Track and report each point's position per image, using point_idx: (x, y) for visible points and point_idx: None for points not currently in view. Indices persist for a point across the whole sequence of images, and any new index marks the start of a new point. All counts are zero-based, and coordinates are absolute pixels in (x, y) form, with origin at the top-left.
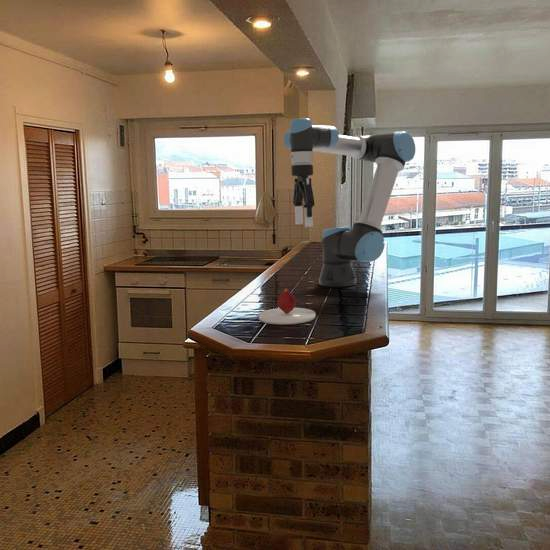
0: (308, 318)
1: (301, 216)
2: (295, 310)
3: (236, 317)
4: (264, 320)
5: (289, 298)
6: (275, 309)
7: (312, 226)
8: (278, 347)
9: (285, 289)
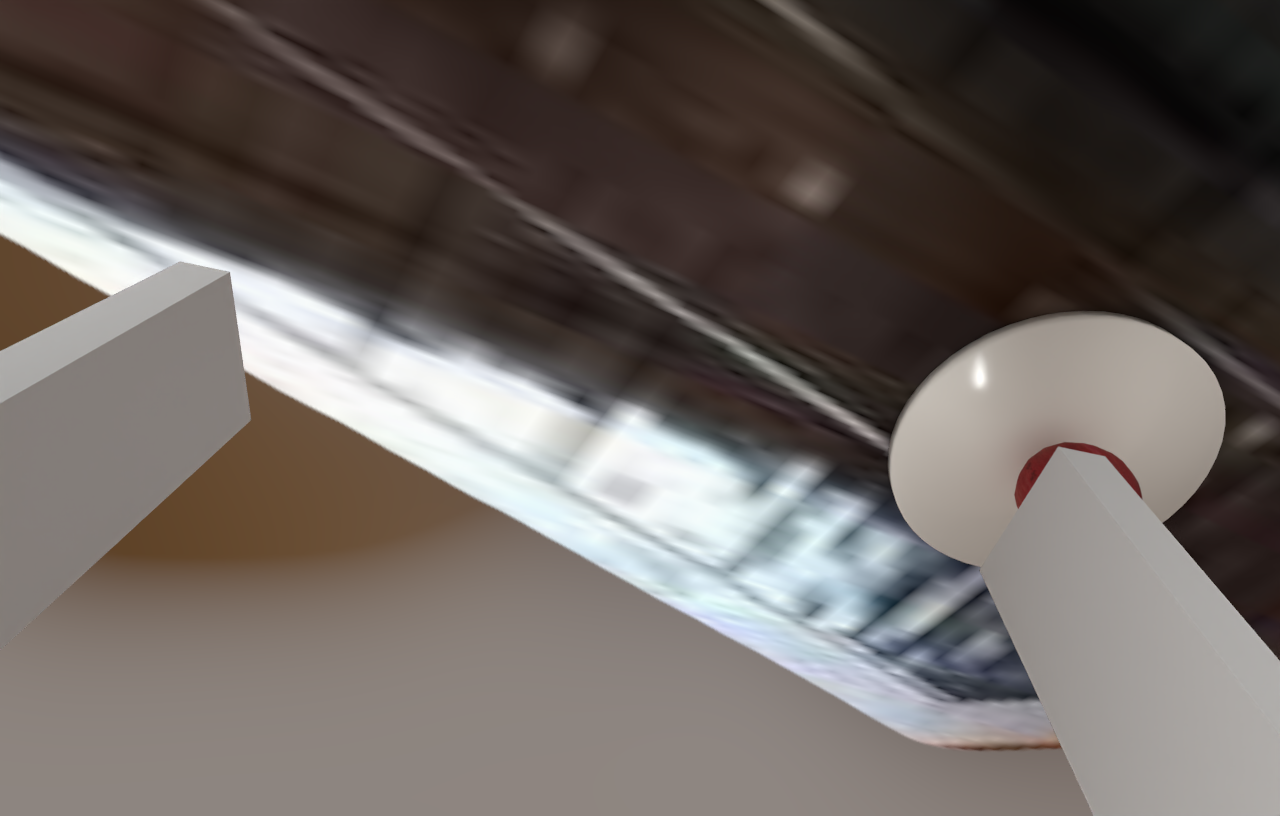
0: (1221, 412)
1: (98, 392)
2: (1021, 395)
3: (854, 598)
4: None
5: None
6: (913, 462)
7: (1095, 468)
8: None
9: None
